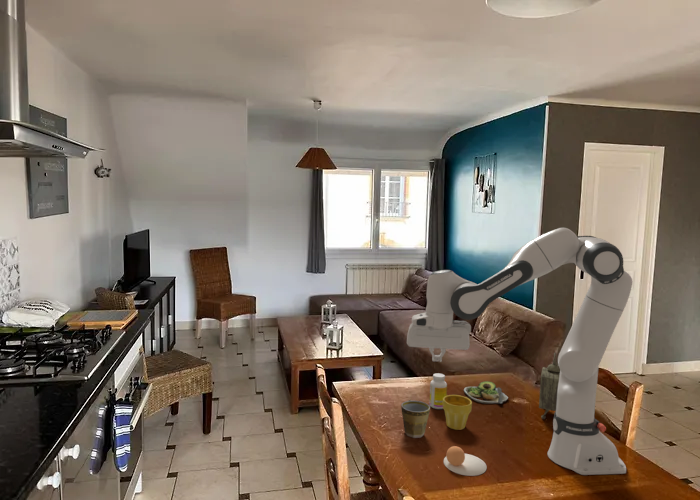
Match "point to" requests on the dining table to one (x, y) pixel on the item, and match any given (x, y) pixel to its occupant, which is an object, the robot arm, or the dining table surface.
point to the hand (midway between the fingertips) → (436, 361)
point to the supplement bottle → (437, 391)
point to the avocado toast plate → (486, 393)
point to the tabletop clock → (549, 387)
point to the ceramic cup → (415, 417)
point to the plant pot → (456, 411)
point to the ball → (455, 456)
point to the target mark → (468, 466)
